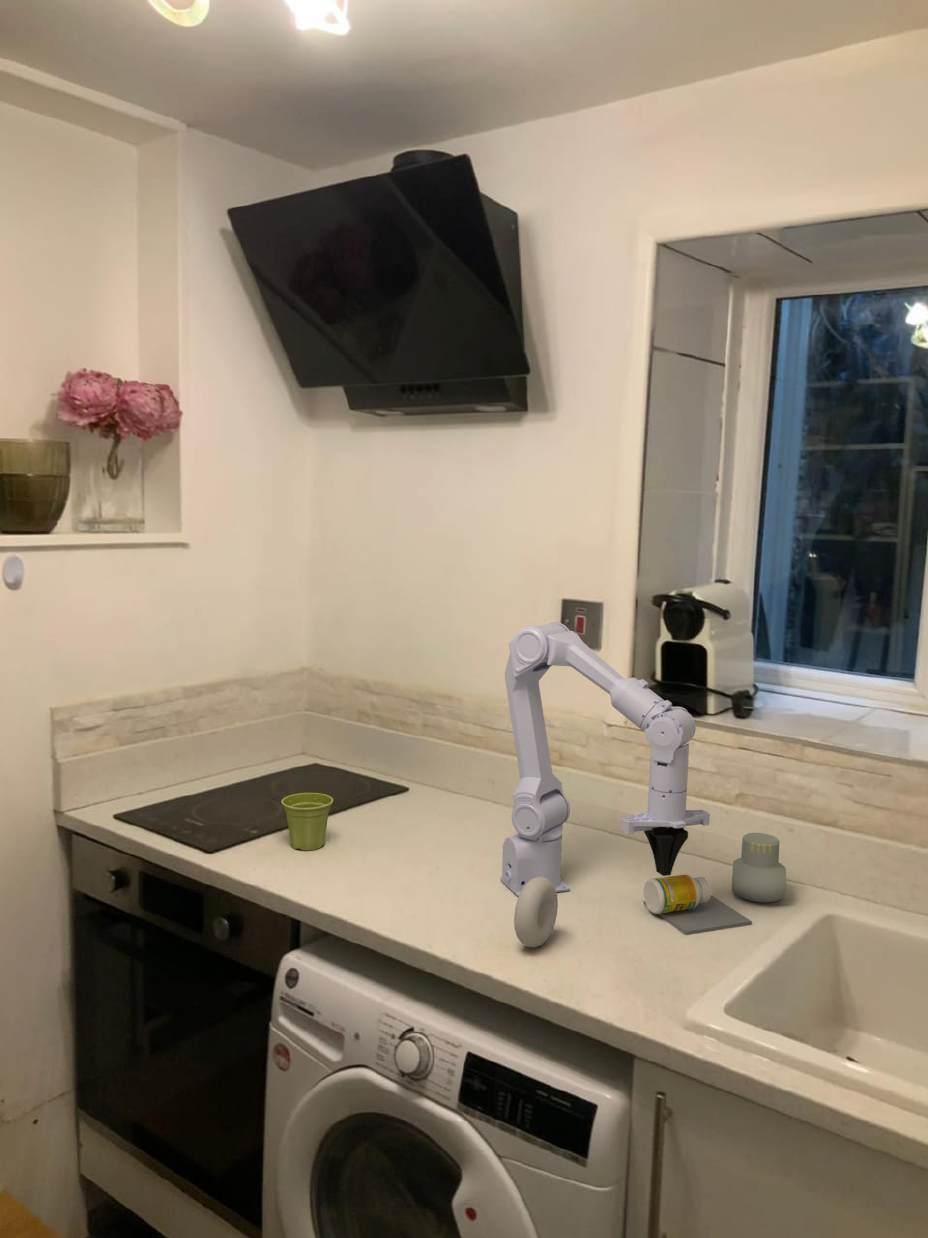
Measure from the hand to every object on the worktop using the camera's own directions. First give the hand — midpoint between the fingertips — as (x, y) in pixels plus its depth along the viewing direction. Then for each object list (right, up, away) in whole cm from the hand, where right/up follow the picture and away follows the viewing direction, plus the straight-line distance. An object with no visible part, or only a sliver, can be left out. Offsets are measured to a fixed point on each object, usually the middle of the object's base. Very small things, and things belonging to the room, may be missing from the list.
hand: (663, 873), depth 150 cm
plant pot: (-60, -3, +29) cm, 67 cm away
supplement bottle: (-2, -4, +2) cm, 5 cm away
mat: (+6, -7, +3) cm, 10 cm away
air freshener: (+18, -7, +11) cm, 22 cm away
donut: (-21, -8, -9) cm, 24 cm away
